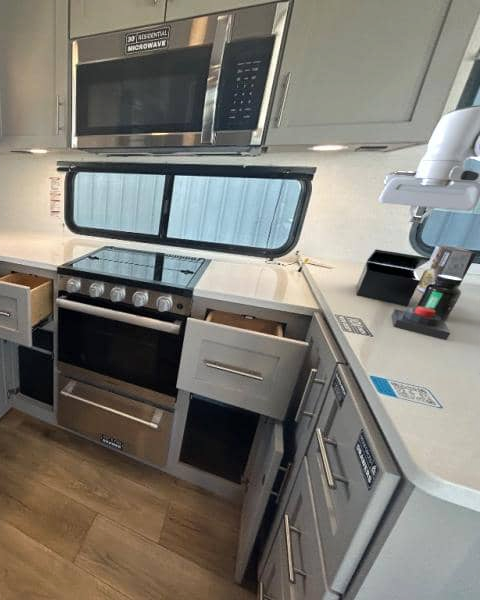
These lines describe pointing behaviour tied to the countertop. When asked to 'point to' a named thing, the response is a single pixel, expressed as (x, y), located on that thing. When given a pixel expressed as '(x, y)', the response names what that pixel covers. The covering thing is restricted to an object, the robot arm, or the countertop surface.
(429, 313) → the button
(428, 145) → the robot arm
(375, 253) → the bin lid
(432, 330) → the control block
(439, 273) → the coffee box
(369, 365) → the countertop surface
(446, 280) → the supplement bottle
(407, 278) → the bin
